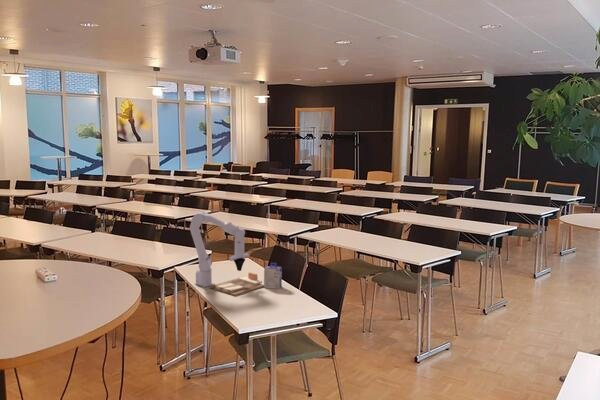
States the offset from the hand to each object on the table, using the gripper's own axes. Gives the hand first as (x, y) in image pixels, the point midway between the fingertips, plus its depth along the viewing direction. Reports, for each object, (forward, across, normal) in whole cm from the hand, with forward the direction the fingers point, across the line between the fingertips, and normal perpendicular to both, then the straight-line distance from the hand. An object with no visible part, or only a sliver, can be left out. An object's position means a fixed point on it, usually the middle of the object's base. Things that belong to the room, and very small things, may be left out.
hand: (239, 270), depth 297 cm
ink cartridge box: (+9, +11, -17) cm, 23 cm away
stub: (+8, +8, -2) cm, 11 cm away
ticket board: (+9, -4, -2) cm, 10 cm away
